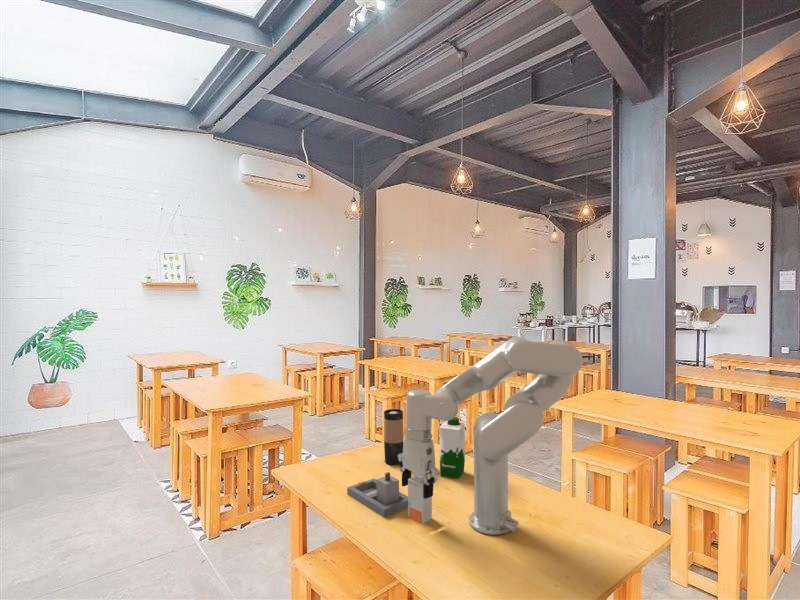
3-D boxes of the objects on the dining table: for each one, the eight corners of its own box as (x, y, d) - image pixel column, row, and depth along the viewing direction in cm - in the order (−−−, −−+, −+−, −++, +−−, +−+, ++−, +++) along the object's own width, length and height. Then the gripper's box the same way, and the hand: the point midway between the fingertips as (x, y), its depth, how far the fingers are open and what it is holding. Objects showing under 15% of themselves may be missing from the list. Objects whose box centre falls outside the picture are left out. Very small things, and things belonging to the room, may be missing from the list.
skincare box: (407, 519, 133) (407, 478, 133) (417, 513, 136) (416, 474, 136) (423, 526, 129) (423, 484, 129) (432, 520, 132) (432, 479, 132)
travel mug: (407, 460, 179) (406, 410, 178) (396, 467, 172) (396, 415, 172) (391, 457, 183) (390, 408, 182) (380, 463, 176) (379, 412, 176)
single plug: (399, 505, 140) (398, 473, 140) (386, 510, 137) (386, 478, 137) (389, 499, 144) (389, 468, 144) (376, 504, 141) (376, 472, 141)
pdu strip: (412, 507, 140) (412, 496, 140) (384, 519, 133) (383, 507, 133) (374, 486, 155) (374, 476, 155) (347, 495, 148) (347, 485, 148)
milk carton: (466, 471, 168) (466, 417, 167) (460, 480, 159) (460, 424, 159) (444, 467, 171) (443, 415, 171) (436, 477, 163) (436, 421, 162)
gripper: (448, 438, 128) (446, 498, 128) (409, 423, 141) (407, 477, 142) (429, 444, 123) (427, 506, 123) (390, 427, 136) (388, 483, 137)
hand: (416, 490), depth 133 cm, fingers open, 9 cm apart
